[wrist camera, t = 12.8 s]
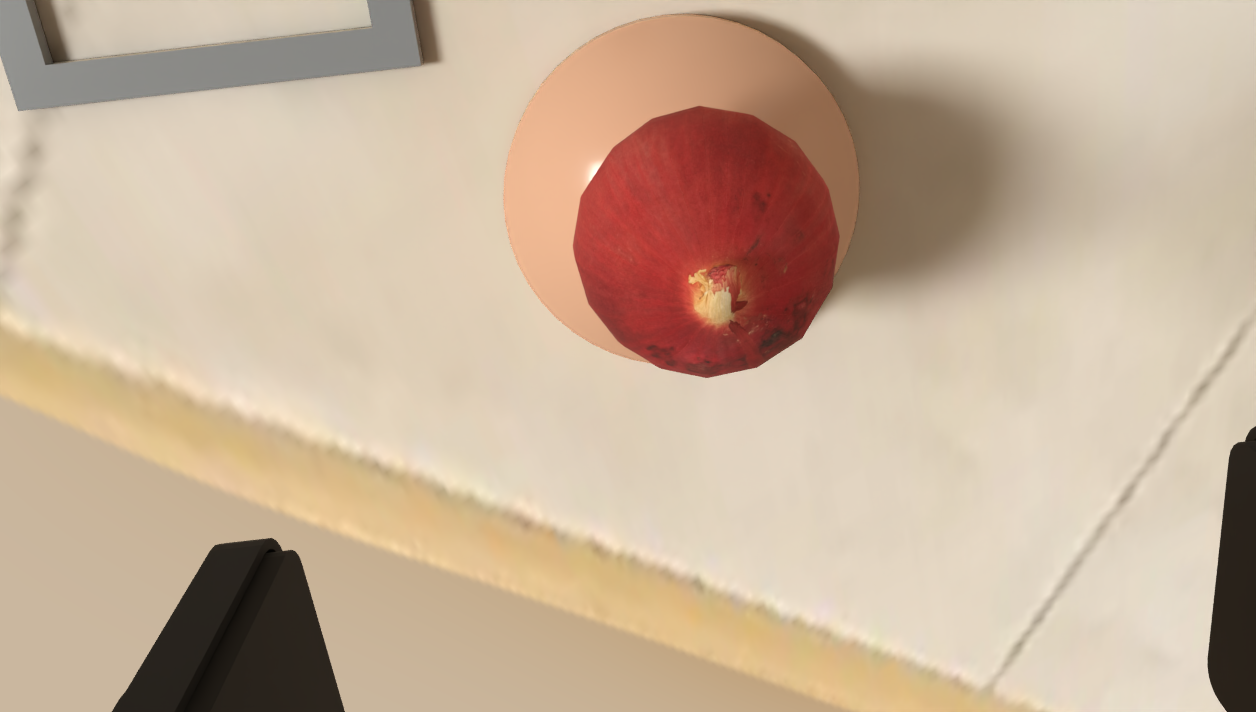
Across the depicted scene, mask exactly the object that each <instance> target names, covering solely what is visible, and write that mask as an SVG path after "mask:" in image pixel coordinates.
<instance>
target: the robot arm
mask: <svg viewBox="0 0 1256 712" xmlns="http://www.w3.org/2000/svg"><path fill="white" fill-rule="evenodd" d="M1208 673H1209V678H1210V682H1211V685H1212V688H1213V690H1214V693H1215V695H1216V696H1217V698H1218V700H1219V701H1220V703H1221V704H1222V706H1223V707H1224V708H1225V710H1226V711H1227V712H1256V426H1255V427H1254V428H1252V429H1251V430H1250V432H1249V433H1248V435H1247V437H1246V440H1245V442H1239V443H1237V444H1235V445H1234V446H1233V448H1232V450H1231V452H1230V456H1229V463H1228V472H1227V482H1226V491H1225V500H1224V510H1223V519H1222V529H1221V538H1220V548H1219V557H1218V566H1217V576H1216V585H1215V595H1214V604H1213V614H1212V623H1211V632H1210V642H1209V651H1208ZM112 712H345V711H344V707H343V704H342V701H341V697H340V694H339V690H338V687H337V683H336V680H335V676H334V673H333V669H332V666H331V663H330V659H329V656H328V652H327V649H326V645H325V642H324V638H323V635H322V632H321V628H320V625H319V622H318V618H317V614H316V611H315V607H314V604H313V600H312V597H311V594H310V590H309V587H308V583H307V580H306V576H305V573H304V570H303V566H302V563H301V560H300V558H299V556H298V554H297V553H296V552H295V551H293V550H288V551H282V549H281V547H280V545H279V544H278V542H277V541H276V540H274V539H272V538H268V539H259V540H250V541H243V542H233V543H224V544H219V545H215V546H214V547H213V548H212V549H211V551H210V552H209V554H208V555H207V557H206V559H205V561H204V562H203V564H202V565H201V567H200V569H199V570H198V572H197V574H196V575H195V577H194V579H193V580H192V582H191V584H190V585H189V587H188V589H187V590H186V592H185V594H184V595H183V597H182V599H181V600H180V602H179V604H178V605H177V607H176V609H175V610H174V612H173V614H172V615H171V617H170V619H169V620H168V622H167V624H166V626H165V627H164V629H163V631H162V632H161V634H160V635H159V637H158V639H157V640H156V642H155V644H154V645H153V647H152V649H151V650H150V652H149V654H148V655H147V657H146V659H145V660H144V662H143V664H142V666H141V667H140V669H139V670H138V672H137V674H136V675H135V677H134V679H133V681H132V682H131V684H130V685H129V687H128V689H127V690H126V692H125V693H124V694H123V696H122V697H121V698H120V699H119V701H118V703H117V704H116V706H115V707H114V709H113V711H112Z"/></svg>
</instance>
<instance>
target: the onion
mask: <svg viewBox="0 0 1256 712" xmlns="http://www.w3.org/2000/svg"><path fill="white" fill-rule="evenodd" d="M839 238H840V235H839V230H838V226H837V222H836V218H835V213H834V209H833V205H832V201H831V197H830V192H829V189H828V187H827V185H826V183H825V181H824V180H823V178H822V177H821V176H820V174H819V173H818V171H817V170H816V169H815V167H814V166H813V165H812V163H811V162H810V160H809V159H808V158H807V156H806V155H805V154H804V152H803V151H802V150H801V148H800V147H799V145H798V144H797V143H796V141H794V140H792V139H791V138H789V137H788V136H786V135H784V134H783V133H781V132H780V131H778V130H776V129H775V128H773V127H771V126H770V125H768V124H767V123H765V122H763V121H762V120H760V119H759V118H757V117H755V116H754V115H750V114H746V113H740V112H734V111H728V110H722V109H716V108H710V107H704V106H696V107H693V108H689V109H685V110H682V111H678V112H674V113H670V114H667V115H663V116H659V117H656V118H652V119H651V120H649V121H648V122H646V123H645V124H644V125H642V126H641V127H640V128H638V129H637V130H636V131H634V132H633V133H632V134H630V135H629V136H628V137H626V138H625V139H624V140H622V141H621V142H620V143H618V144H617V145H616V146H614V147H613V148H612V150H611V151H610V152H609V154H608V155H607V157H606V158H605V160H604V161H603V163H602V164H601V166H600V168H599V169H598V171H597V172H596V174H595V175H594V177H593V178H592V180H591V181H590V183H589V184H588V186H587V187H586V189H585V191H584V192H583V194H582V195H581V198H580V204H579V210H578V216H577V222H576V228H575V234H574V240H573V251H574V257H575V261H576V264H577V267H578V271H579V274H580V277H581V281H582V284H583V287H584V291H585V294H586V298H587V301H588V304H589V305H590V307H591V308H592V309H593V311H594V312H595V313H596V314H597V316H598V317H599V318H600V319H601V321H602V322H603V323H604V325H605V326H606V327H607V328H608V330H609V331H610V332H611V333H612V335H613V336H614V337H615V339H616V340H617V341H618V342H619V343H620V344H622V345H623V346H624V347H626V348H628V349H629V350H631V351H633V352H634V353H636V354H638V355H639V356H641V357H643V358H644V359H646V360H648V361H649V362H651V363H652V364H654V365H655V366H657V367H659V368H661V369H665V370H670V371H675V372H680V373H685V374H690V375H695V376H700V377H705V378H709V377H714V376H719V375H723V374H728V373H733V372H738V371H742V370H747V369H752V368H757V367H758V366H760V365H761V364H763V363H765V362H766V361H768V360H769V359H771V358H772V357H774V356H775V355H777V354H778V353H780V352H781V351H783V350H785V349H786V348H788V347H789V346H791V345H792V344H794V343H795V342H797V341H798V340H800V339H802V338H803V336H804V334H805V332H806V331H807V329H808V327H809V326H810V324H811V322H812V320H813V319H814V317H815V315H816V314H817V312H818V310H819V309H820V307H821V305H822V303H823V302H824V300H825V298H826V297H827V295H828V294H829V292H830V290H831V289H832V286H833V279H834V273H835V266H836V259H837V252H838V245H839Z"/></svg>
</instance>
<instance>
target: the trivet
mask: <svg viewBox="0 0 1256 712" xmlns="http://www.w3.org/2000/svg"><path fill="white" fill-rule="evenodd" d="M696 106H704V107H710V108H716V109H722V110H728V111H734V112H740V113H746V114H750V115H754V116H755V117H757V118H759V119H760V120H762V121H763V122H765V123H767V124H768V125H770V126H771V127H773V128H775V129H776V130H778V131H780V132H781V133H783V134H784V135H786V136H788V137H789V138H791V139H792V140H794V141H796V143H797V144H798V145H799V147H800V148H801V150H802V151H803V152H804V154H805V155H806V156H807V158H808V159H809V160H810V162H811V163H812V165H813V166H814V167H815V169H816V170H817V171H818V173H819V174H820V176H821V177H822V178H823V180H824V181H825V183H826V185H827V187H828V189H829V192H830V197H831V201H832V205H833V209H834V213H835V218H836V222H837V226H838V230H839V235H840V238H839V245H838V252H837V259H836V266H835V273H834V276H835V275H836V273H837V272H838V270H839V268H840V266H841V263H842V261H843V259H844V257H845V255H846V253H847V250H848V248H849V245H850V241H851V238H852V235H853V232H854V229H855V224H856V218H857V212H858V207H859V186H860V182H859V171H858V160H857V156H856V152H855V147H854V143H853V139H852V136H851V133H850V131H849V128H848V125H847V123H846V120H845V118H844V115H843V114H842V112H841V110H840V108H839V106H838V105H837V103H836V101H835V99H834V97H833V96H832V94H831V93H830V92H829V90H828V89H827V88H826V86H825V85H824V84H823V82H822V81H821V80H820V78H819V77H818V76H817V75H816V74H815V73H814V72H813V71H812V70H811V69H810V68H809V67H808V66H807V65H806V64H805V63H804V62H803V61H802V60H801V59H800V58H799V57H798V56H796V55H795V54H794V53H792V52H791V51H790V50H788V49H787V48H786V47H784V46H783V45H782V44H781V43H779V42H778V41H776V40H774V39H772V38H771V37H769V36H767V35H765V34H763V33H762V32H760V31H758V30H756V29H753V28H751V27H748V26H745V25H743V24H740V23H738V22H735V21H731V20H726V19H722V18H718V17H713V16H705V15H694V14H675V15H661V16H655V17H650V18H644V19H639V20H636V21H633V22H630V23H627V24H624V25H621V26H618V27H616V28H613V29H611V30H609V31H607V32H605V33H603V34H601V35H599V36H597V37H595V38H593V39H592V40H590V41H589V42H587V43H586V44H584V45H583V46H581V47H580V48H578V49H577V50H575V51H574V52H573V53H572V54H571V55H569V56H568V57H567V58H566V59H565V60H564V61H563V62H561V63H560V64H559V65H558V66H557V67H556V68H555V69H554V70H553V72H552V73H551V74H550V75H549V76H548V77H547V78H546V80H545V81H544V82H543V83H542V84H541V86H540V87H539V89H538V90H537V92H536V93H535V95H534V96H533V98H532V99H531V101H530V102H529V104H528V106H527V108H526V110H525V112H524V114H523V116H522V118H521V120H520V122H519V124H518V127H517V130H516V133H515V136H514V139H513V142H512V145H511V148H510V151H509V155H508V160H507V166H506V171H505V178H504V210H505V222H506V226H507V231H508V235H509V240H510V244H511V247H512V249H513V252H514V255H515V257H516V260H517V263H518V265H519V267H520V269H521V271H522V273H523V275H524V276H525V278H526V280H527V282H528V284H529V285H530V287H531V288H532V290H533V291H534V292H535V294H536V295H537V297H538V298H539V299H540V301H541V302H542V303H543V304H544V305H545V306H546V307H547V309H548V310H549V311H550V312H551V313H552V314H553V315H554V316H555V317H556V318H557V319H558V320H559V321H561V322H562V323H563V324H564V325H565V326H567V327H568V328H569V329H570V330H571V331H573V332H574V333H576V334H577V335H579V336H580V337H582V338H583V339H585V340H587V341H588V342H590V343H591V344H594V345H596V346H598V347H600V348H602V349H604V350H606V351H608V352H610V353H613V354H616V355H619V356H622V357H625V358H629V359H632V360H637V361H642V362H647V363H651V362H649V361H648V360H646V359H644V358H643V357H641V356H639V355H638V354H636V353H634V352H633V351H631V350H629V349H628V348H626V347H624V346H623V345H622V344H620V343H619V342H618V341H617V340H616V339H615V337H614V336H613V335H612V333H611V332H610V331H609V330H608V328H607V327H606V326H605V325H604V323H603V322H602V321H601V319H600V318H599V317H598V316H597V314H596V313H595V312H594V311H593V309H592V308H591V307H590V305H589V304H588V301H587V298H586V294H585V291H584V287H583V284H582V281H581V277H580V274H579V271H578V267H577V264H576V261H575V257H574V251H573V240H574V234H575V228H576V222H577V216H578V210H579V204H580V198H581V195H582V194H583V192H584V191H585V189H586V187H587V186H588V184H589V183H590V181H591V180H592V178H593V177H594V175H595V174H596V172H597V171H598V169H599V168H600V166H601V164H602V163H603V161H604V160H605V158H606V157H607V155H608V154H609V152H610V151H611V150H612V148H613V147H614V146H616V145H617V144H618V143H620V142H621V141H622V140H624V139H625V138H626V137H628V136H629V135H630V134H632V133H633V132H634V131H636V130H637V129H638V128H640V127H641V126H642V125H644V124H645V123H646V122H648V121H649V120H651V119H652V118H656V117H659V116H663V115H667V114H670V113H674V112H678V111H682V110H685V109H689V108H693V107H696Z"/></svg>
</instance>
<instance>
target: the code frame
mask: <svg viewBox="0 0 1256 712" xmlns="http://www.w3.org/2000/svg"><path fill="white" fill-rule="evenodd" d="M367 3H368V8H369V13H370V18H371V23H372V27H363V28H354V29H345V30H337V31H328V32H319V33H310V34H301V35H293V36H284V37H275V38H266V39H257V40H249V41H240V42H231V43H222V44H213V45H204V46H196V47H187V48H178V49H169V50H160V51H152V52H143V53H134V54H125V55H116V56H108V57H99V58H90V59H81V60H72V61H63V62H55V63H53V61H52V58H51V54H50V51H49V48H48V45H47V41H46V38H45V35H44V32H43V28H42V25H41V22H40V18H39V15H38V12H37V9H36V5H35V2H34V0H0V56H1V59H2V62H3V65H4V69H5V72H6V75H7V78H8V81H9V84H10V87H11V90H12V93H13V96H14V99H15V102H16V106H17V109H18V111H24V110H33V109H41V108H50V107H59V106H68V105H77V104H86V103H95V102H104V101H113V100H121V99H130V98H139V97H148V96H157V95H166V94H175V93H184V92H193V91H201V90H210V89H219V88H228V87H237V86H246V85H255V84H264V83H273V82H281V81H290V80H299V79H308V78H317V77H326V76H335V75H344V74H353V73H362V72H370V71H379V70H388V69H397V68H406V67H415V66H421V65H422V64H423V57H422V51H421V46H420V40H419V34H418V29H417V23H416V17H415V12H414V6H413V0H367Z"/></svg>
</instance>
